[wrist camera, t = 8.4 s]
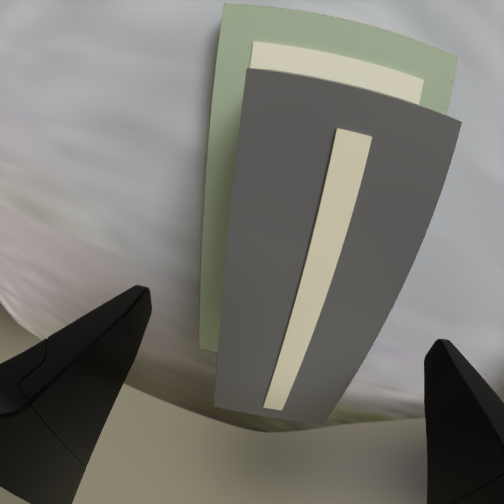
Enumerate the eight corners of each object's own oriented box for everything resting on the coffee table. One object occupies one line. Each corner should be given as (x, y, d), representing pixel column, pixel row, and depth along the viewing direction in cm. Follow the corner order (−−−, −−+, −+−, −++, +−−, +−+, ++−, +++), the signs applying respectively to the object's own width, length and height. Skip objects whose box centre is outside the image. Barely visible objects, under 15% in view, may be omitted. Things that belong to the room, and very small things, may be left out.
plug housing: (403, 98, 10) (463, 123, 6) (324, 345, 17) (322, 426, 13) (270, 69, 10) (245, 67, 6) (234, 329, 17) (213, 408, 13)
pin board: (443, 57, 10) (497, 58, 6) (342, 356, 20) (344, 415, 16) (232, 10, 10) (199, -15, 7) (205, 331, 20) (185, 387, 16)
